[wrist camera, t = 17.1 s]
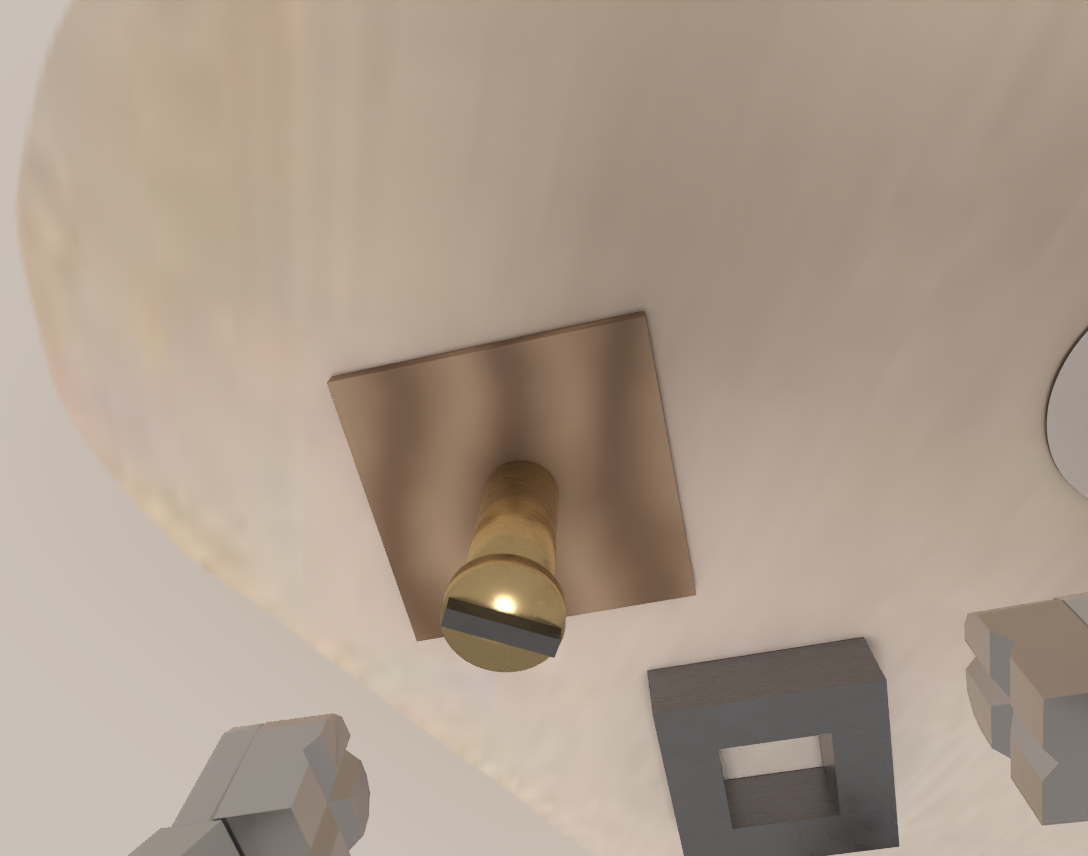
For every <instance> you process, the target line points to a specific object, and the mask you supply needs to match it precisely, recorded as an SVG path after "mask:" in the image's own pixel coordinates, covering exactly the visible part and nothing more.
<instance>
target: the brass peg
mask: <svg viewBox="0 0 1088 856" xmlns="http://www.w3.org/2000/svg"><path fill="white" fill-rule="evenodd" d="M558 507H559V489H558V485H557V482H556V480H555V478H554V477H553V476H552V474H551V473H550V472H549V471H548V470H547V469H546V468H544V467H543V466H541V465H539V464H537V463H534V462H531V461H525V460H516V461H510V462H507V463H505V464H502V465H501V466H499V467H498V468H496V469H495V470H494V471H493V472H492V473H491V474H490V476H489V477H488V479H487V482H486V484H485V489H484V493H483V497H482V501H481V505H480V509H479V513H478V517H477V521H476V525H475V529H474V533H473V537H472V541H471V545H470V549H469V554H468V558H467V562H466V564H465V565H464V566H462V567H461V568H460V569H459V570H458V571H457V572H456V573H455V574H454V575H453V577H452V578H451V580H450V582H449V583H448V586H447V588H446V592H445V595H444V599H443V603H442V607H441V611H440V624H441V628H442V632H443V634H444V637H445V639H446V641H447V642H448V644H449V645H450V647H451V648H452V649H453V650H454V651H455V652H456V653H457V654H458V655H459V656H460V657H462V658H463V659H464V660H466V661H467V662H469V663H471V664H473V665H475V666H477V667H480V668H483V669H486V670H490V671H496V672H516V671H522V670H526V669H529V668H532V667H534V666H536V665H538V664H540V663H542V662H543V661H545V660H546V659H547V658H549V657H555V655H556V652H557V650H558V647H559V645H560V643H561V641H562V639H563V635H564V632H565V620H566V602H565V596H564V593H563V590H562V588H561V586H560V584H559V582H558V581H557V580H556V578H555V560H556V542H557V525H558Z"/></svg>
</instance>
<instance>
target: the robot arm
mask: <svg viewBox="0 0 1088 856" xmlns="http://www.w3.org/2000/svg"><path fill="white" fill-rule="evenodd" d="M1047 436H1048V443H1049V448H1050V451H1051V454H1052V457H1053V460H1054V462H1055V464H1056V466H1057V468H1058V470H1059V471H1060V473H1061V474H1062V476H1063V477H1064V478H1065V479H1066V481H1067V482H1068V483H1069V484H1070V485H1071V486H1072V487H1073V488H1074V489H1075V490H1076V491H1078V492H1079V493H1080V494H1082V495H1083V496H1085V497H1086V498H1088V331H1087V332H1086V334H1085V335H1084V336H1083V337H1082V338H1081V340H1080V341H1079V342H1078V343H1077V345H1076V346H1075V347H1074V349H1073V350H1072V352H1071V353H1070V355H1069V356H1068V358H1067V360H1066V361H1065V363H1064V365H1063V367H1062V369H1061V370H1060V373H1059V375H1058V377H1057V379H1056V382H1055V384H1054V387H1053V390H1052V394H1051V397H1050V401H1049V406H1048V413H1047ZM965 641H966V643H967V644H968V646H969V647H970V648H971V650H972V651H973V653H974V654H975V655H976V657H975V658H974V659H973V661H972V662H971V663H970V665H969V666H968V667H967V669H966V679H967V692H968V696H969V699H970V703H971V707H972V710H973V714H974V716H975V718H976V721H977V723H978V725H979V727H980V729H981V731H982V733H983V735H984V736H985V738H986V739H987V741H988V743H989V744H990V746H991V747H992V748H993V749H995V750H996V751H998V752H1000V753H1002V754H1004V755H1006V756H1007V757H1009V758H1011V779H1012V780H1013V782H1014V783H1015V785H1016V786H1017V788H1018V789H1019V791H1020V792H1021V794H1022V795H1023V797H1024V799H1025V800H1026V802H1027V803H1028V805H1029V806H1030V808H1031V809H1032V811H1033V812H1034V814H1035V815H1036V817H1037V818H1038V820H1039V821H1040V823H1041V825H1052V824H1062V823H1072V822H1082V821H1088V592H1084V593H1079V594H1073V595H1068V596H1062V597H1057V598H1054V599H1053V600H1046V601H1040V602H1034V603H1027V604H1021V605H1015V606H1009V607H1003V608H997V609H991V610H985V611H979V612H973V613H968V614H967V617H966V621H965ZM349 738H350V733H349V731H348V729H347V727H346V725H345V723H344V720H343V718H342V717H341V716H339V715H336V714H327V715H319V716H311V717H304V718H296V719H289V720H282V721H274V722H267V723H265V724H256V725H249V726H241V727H234V728H232V729H230V730H229V731H227V732H226V733H224V734H223V736H222V737H221V739H220V741H219V743H218V744H217V746H216V748H215V750H214V752H213V753H212V755H211V757H210V759H209V760H208V762H207V764H206V766H205V768H204V770H203V771H202V773H201V775H200V777H199V779H198V780H197V782H196V784H195V786H194V787H193V789H192V791H191V793H190V794H189V796H188V798H187V800H186V802H185V804H184V805H183V807H182V809H181V811H180V812H179V814H178V816H177V818H176V820H175V821H174V823H173V825H172V827H168V828H162V829H159V830H158V831H157V832H156V833H155V834H153V835H152V836H151V837H150V838H148V839H147V840H146V841H145V842H144V843H142V844H141V845H140V846H139V847H138V848H136V849H135V850H134V851H133V852H132V853H130V854H129V855H128V856H350V853H349V850H350V849H351V848H352V847H353V846H354V845H355V844H356V843H357V841H358V840H359V839H360V838H361V837H362V836H363V835H364V832H365V828H366V824H367V821H368V817H369V798H370V797H369V796H370V791H369V786H368V780H367V775H366V772H365V770H364V767H363V765H362V762H361V760H359V759H358V758H356V757H355V756H353V755H352V754H351V753H349V752H348V751H346V747H347V744H348V741H349Z"/></svg>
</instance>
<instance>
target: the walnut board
mask: <svg viewBox="0 0 1088 856" xmlns="http://www.w3.org/2000/svg"><path fill="white" fill-rule="evenodd" d="M327 384H328V387H329V390H330V393H331V396H332V399H333V401H334V404H335V407H336V410H337V413H338V416H339V419H340V422H341V424H342V427H343V430H344V433H345V436H346V439H347V442H348V445H349V447H350V450H351V453H352V456H353V459H354V462H355V465H356V467H357V470H358V473H359V476H360V479H361V482H362V485H363V488H364V490H365V493H366V496H367V499H368V502H369V505H370V508H371V510H372V513H373V516H374V519H375V522H376V525H377V528H378V531H379V533H380V536H381V539H382V542H383V545H384V548H385V551H386V554H387V556H388V559H389V562H390V565H391V568H392V571H393V574H394V576H395V579H396V582H397V585H398V588H399V591H400V594H401V597H402V599H403V602H404V605H405V608H406V611H407V614H408V617H409V619H410V622H411V625H412V628H413V631H414V634H415V637H416V640H417V641H422V640H428V639H434V638H440V637H444V634H443V632H442V628H441V624H440V611H441V607H442V603H443V599H444V595H445V592H446V588H447V586H448V583H449V582H450V580H451V578H452V577H453V575H454V574H455V573H456V572H457V571H458V570H459V569H460V568H461V567H462V566H464V565H465V564H466V562H467V558H468V554H469V549H470V545H471V541H472V537H473V533H474V529H475V525H476V521H477V517H478V513H479V509H480V505H481V501H482V497H483V493H484V489H485V484H486V482H487V479H488V477H489V476H490V474H491V473H492V472H493V471H494V470H495V469H496V468H498V467H499V466H501V465H502V464H505V463H507V462H510V461H516V460H525V461H531V462H534V463H537V464H539V465H541V466H543V467H544V468H546V469H547V470H548V471H549V472H550V473H551V474H552V476H553V477H554V478H555V480H556V482H557V485H558V489H559V507H558V525H557V542H556V560H555V578H556V580H557V581H558V582H559V584H560V586H561V588H562V590H563V593H564V596H565V602H566V617H567V616H573V615H579V614H585V613H591V612H597V611H603V610H609V609H615V608H621V607H627V606H633V605H639V604H645V603H651V602H657V601H663V600H669V599H675V598H682V597H688V596H694V595H696V591H695V586H694V580H693V575H692V569H691V564H690V558H689V553H688V547H687V542H686V536H685V531H684V525H683V520H682V514H681V509H680V503H679V498H678V492H677V487H676V481H675V476H674V470H673V465H672V459H671V454H670V448H669V443H668V437H667V432H666V426H665V421H664V415H663V410H662V404H661V398H660V393H659V387H658V382H657V376H656V371H655V365H654V360H653V354H652V349H651V343H650V338H649V332H648V327H647V321H646V316H645V313H644V312H639V313H634V314H629V315H625V316H620V317H615V318H610V319H606V320H601V321H596V322H591V323H586V324H582V325H577V326H572V327H567V328H563V329H558V330H553V331H548V332H544V333H539V334H534V335H529V336H525V337H520V338H515V339H510V340H505V341H501V342H496V343H491V344H486V345H482V346H477V347H472V348H467V349H463V350H458V351H453V352H448V353H443V354H439V355H434V356H429V357H424V358H420V359H415V360H410V361H405V362H401V363H396V364H391V365H386V366H382V367H377V368H372V369H367V370H362V371H358V372H353V373H348V374H343V375H339V376H334V377H331V379H330V380H329V381H328V382H327Z"/></svg>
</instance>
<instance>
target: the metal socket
mask: <svg viewBox="0 0 1088 856" xmlns="http://www.w3.org/2000/svg"><path fill="white" fill-rule="evenodd" d="M647 672H648V680H649V688H650V696H651V704H652V712H653V717H654V722H655V727H656V731H657V736H658V740H659V745H660V749H661V754H662V758H663V763H664V767H665V772H666V776H667V781H668V785H669V790H670V794H671V799H672V803H673V808H674V812H675V817H676V822H677V826H678V831H679V835H680V840H681V844H682V849H683V853H684V856H827V855H835V854H843V853H851V852H859V851H867V850H875V849H883V848H891V847H899V837H898V824H897V812H896V799H895V786H894V773H893V760H892V747H891V734H890V722H889V709H888V696H887V683H886V678H885V677H884V675H883V673H882V671H881V669H880V667H879V665H878V663H877V662H876V660H875V658H874V656H873V654H872V652H871V650H870V649H869V647H868V645H867V643H866V641H865V639H864V637H863V638H857V639H850V640H844V641H838V642H831V643H825V644H818V645H812V646H805V647H799V648H793V649H786V650H780V651H773V652H767V653H760V654H754V655H747V656H741V657H735V658H728V659H722V660H715V661H709V662H702V663H696V664H690V665H683V666H677V667H670V668H664V669H657V670H651V671H647ZM815 735H819V739H820V747H821V755H822V763H823V767H820V768H812V769H805V770H798V771H791V772H783V773H776V774H769V775H761V776H754V777H747V778H740V779H732V780H725V781H724V780H723V775H722V770H721V764H720V759H719V754H718V749H723V748H730V747H737V746H744V745H751V744H759V743H766V742H773V741H780V740H787V739H794V738H801V737H808V736H815Z"/></svg>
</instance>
